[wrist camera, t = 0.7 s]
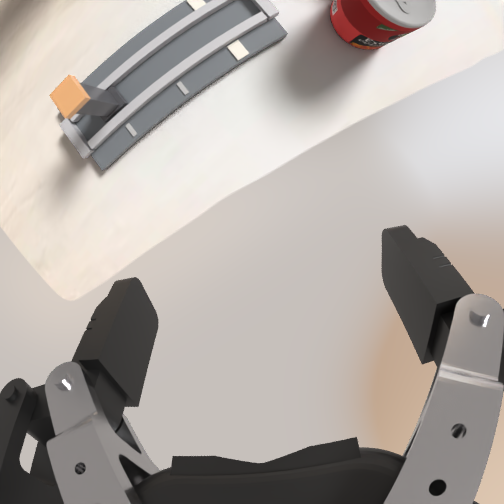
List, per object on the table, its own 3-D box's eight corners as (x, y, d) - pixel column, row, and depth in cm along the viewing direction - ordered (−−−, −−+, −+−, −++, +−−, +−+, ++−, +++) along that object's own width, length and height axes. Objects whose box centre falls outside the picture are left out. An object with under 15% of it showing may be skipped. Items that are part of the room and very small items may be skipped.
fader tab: (95, 104, 29) (47, 98, 20) (115, 86, 29) (71, 72, 19) (108, 122, 30) (62, 121, 21) (129, 104, 30) (88, 94, 20)
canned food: (349, 59, 30) (392, 34, 20) (314, 3, 27) (343, -40, 17) (399, 41, 29) (450, 19, 19) (367, -12, 26) (407, -49, 16)
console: (59, 111, 30) (49, 110, 28) (236, -25, 26) (236, -34, 24) (103, 172, 33) (94, 174, 31) (289, 34, 29) (293, 27, 27)
